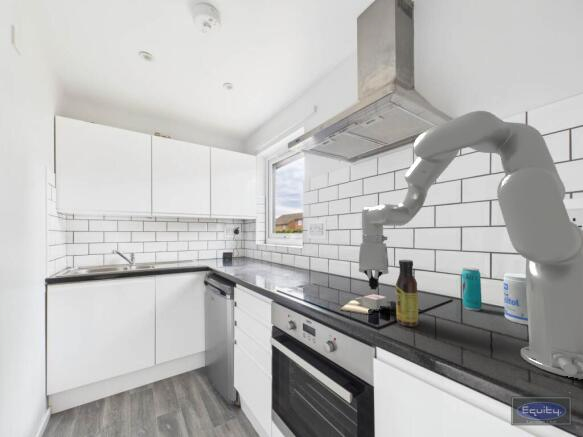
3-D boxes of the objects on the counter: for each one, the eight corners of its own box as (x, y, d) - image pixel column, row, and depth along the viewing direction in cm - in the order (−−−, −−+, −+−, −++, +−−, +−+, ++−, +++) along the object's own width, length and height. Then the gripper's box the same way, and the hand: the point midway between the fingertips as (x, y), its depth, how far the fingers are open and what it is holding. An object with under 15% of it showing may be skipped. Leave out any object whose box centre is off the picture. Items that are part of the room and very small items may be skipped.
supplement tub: (497, 317, 85) (495, 273, 86) (520, 315, 87) (518, 272, 87) (528, 327, 75) (526, 278, 76) (554, 326, 77) (551, 277, 78)
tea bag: (376, 310, 91) (354, 304, 99) (387, 307, 95) (364, 301, 103) (376, 300, 91) (354, 294, 99) (387, 297, 95) (364, 292, 103)
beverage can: (461, 306, 98) (460, 267, 99) (479, 307, 96) (478, 268, 97) (464, 310, 93) (462, 269, 94) (483, 312, 91) (481, 270, 92)
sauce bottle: (397, 319, 83) (395, 258, 84) (418, 322, 80) (416, 259, 81) (395, 326, 77) (394, 260, 78) (418, 329, 74) (416, 261, 75)
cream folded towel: (370, 315, 87) (370, 313, 87) (340, 310, 93) (340, 308, 93) (379, 305, 99) (379, 303, 99) (352, 301, 105) (351, 300, 105)
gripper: (395, 239, 94) (396, 289, 93) (356, 239, 102) (356, 285, 101) (392, 240, 88) (393, 293, 87) (350, 239, 96) (351, 288, 94)
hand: (373, 288), depth 94 cm, fingers closed
